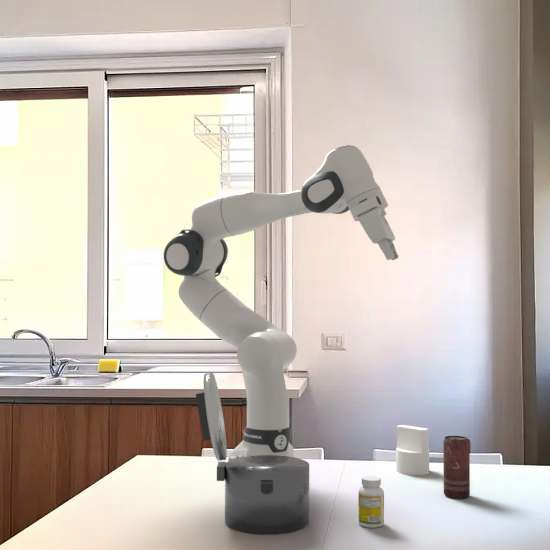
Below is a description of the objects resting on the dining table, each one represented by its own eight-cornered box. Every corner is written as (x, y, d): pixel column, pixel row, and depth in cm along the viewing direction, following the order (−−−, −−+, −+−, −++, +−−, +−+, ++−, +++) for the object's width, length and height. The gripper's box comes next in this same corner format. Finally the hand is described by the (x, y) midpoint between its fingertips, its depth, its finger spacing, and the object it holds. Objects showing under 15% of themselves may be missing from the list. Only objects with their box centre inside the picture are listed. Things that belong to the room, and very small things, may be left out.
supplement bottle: (375, 530, 145) (374, 482, 146) (353, 524, 149) (353, 478, 149) (389, 523, 150) (388, 477, 150) (367, 518, 153) (367, 473, 153)
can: (471, 500, 168) (471, 440, 168) (444, 498, 169) (443, 439, 169) (470, 493, 174) (469, 435, 174) (443, 491, 175) (443, 434, 175)
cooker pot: (212, 538, 140) (213, 477, 140) (221, 504, 163) (221, 452, 163) (312, 539, 140) (312, 478, 140) (306, 505, 163) (306, 452, 164)
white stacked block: (435, 471, 196) (435, 427, 197) (416, 476, 190) (416, 431, 190) (408, 465, 203) (408, 423, 203) (389, 471, 196) (389, 427, 197)
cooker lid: (223, 469, 142) (203, 472, 142) (228, 449, 161) (211, 452, 161) (207, 377, 143) (188, 380, 143) (215, 368, 162) (197, 371, 162)
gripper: (363, 215, 181) (386, 264, 180) (349, 210, 162) (375, 265, 160) (385, 204, 180) (409, 253, 178) (374, 197, 160) (401, 252, 159)
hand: (393, 259), depth 169 cm, fingers open, 8 cm apart
